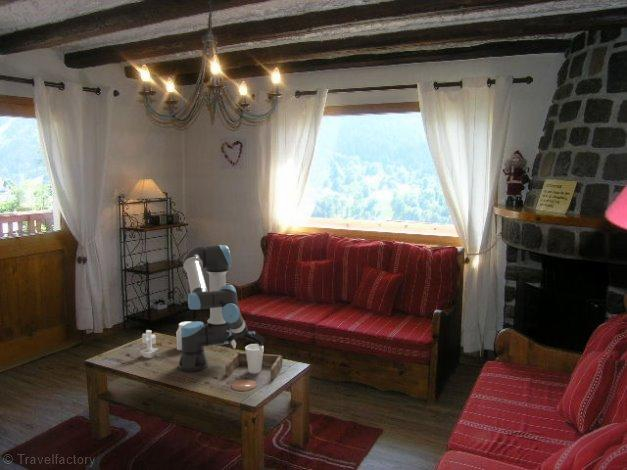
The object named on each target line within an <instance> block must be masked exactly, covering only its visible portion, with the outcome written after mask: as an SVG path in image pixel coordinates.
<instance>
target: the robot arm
mask: <svg viewBox="0 0 627 470" xmlns="http://www.w3.org/2000/svg"><path fill="white" fill-rule="evenodd" d="M182 266H183V270H184V271H185V272H186V276H187V281H188V286H189V290H190V293H187V304H188V305H187V306H188V309H190V310H198V311H199V310H204V309H205V310H206V309H209V318H208V319H207V321H206V324H205V323H204V322H203V321H198V320H197V321H190V322H191V323H188V324H185V325H184V326H183V327H182V329H181V343H182V350H181V355H180V358H179V362H178V369H179V370H180V371H182V372H186V373H187V372H188V373H191V372H193V373H194V372H199V371H203V370H205V369H206V368H208V366H209V361H208V358H207V355H206V352H205V347H212V346H223V345H227V344H228V345H229V344H230V345H231V346H232V348H233V349H234V350H235V349H236V346H237V342H236V340H237V339H238V338H243V339H246V340H250V341H253V342H254V343H255V344H257V345H258V347H259V349H260V350H262V346H263V347H264V344H265V341H266V338H265V337H264V336H262V335H261V334H259V333H258V332H257V331H256V330H255V329H252V331H251V330H248V326H247V324H246V321H245V320H244V319H243V316H242V314H241V310H240V305H239V300H238V299H239V298H238V293H237V290H236V287H235V286H234V285H232V284H227V279H226V278H227V277H226V274H227V273H228V272H229V268H230V267H232V257H231V251H230V248H229V247H228V246H227V245H225V244H213V245H197V246H195V247H193V248H191V249H190V250H188V252H187V253H186V254H185V256H184V258H183V261H182ZM203 269H205V271H206V273H208V278H209V279H208V281H209V290H208V287H207V284H206V279H205V276H204V271H203Z"/></svg>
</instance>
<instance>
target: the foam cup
mask: <svg viewBox="0 0 627 470" xmlns="http://www.w3.org/2000/svg"><path fill="white" fill-rule="evenodd" d="M257 344H258V343H250V344H248V345H246V346H245V347H244V349H245V351H244V353H246V357H247V363H248V365H247V368H248V369H247V370H248V373H250V374H259V373H261V372H262V367H263V366H262V358H263V354H264V352H265V351H264V349H265V348H264V345H263V346H262V350H260V349H259V347H258V345H257Z"/></svg>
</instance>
